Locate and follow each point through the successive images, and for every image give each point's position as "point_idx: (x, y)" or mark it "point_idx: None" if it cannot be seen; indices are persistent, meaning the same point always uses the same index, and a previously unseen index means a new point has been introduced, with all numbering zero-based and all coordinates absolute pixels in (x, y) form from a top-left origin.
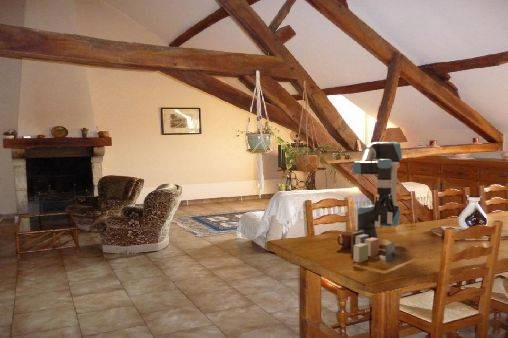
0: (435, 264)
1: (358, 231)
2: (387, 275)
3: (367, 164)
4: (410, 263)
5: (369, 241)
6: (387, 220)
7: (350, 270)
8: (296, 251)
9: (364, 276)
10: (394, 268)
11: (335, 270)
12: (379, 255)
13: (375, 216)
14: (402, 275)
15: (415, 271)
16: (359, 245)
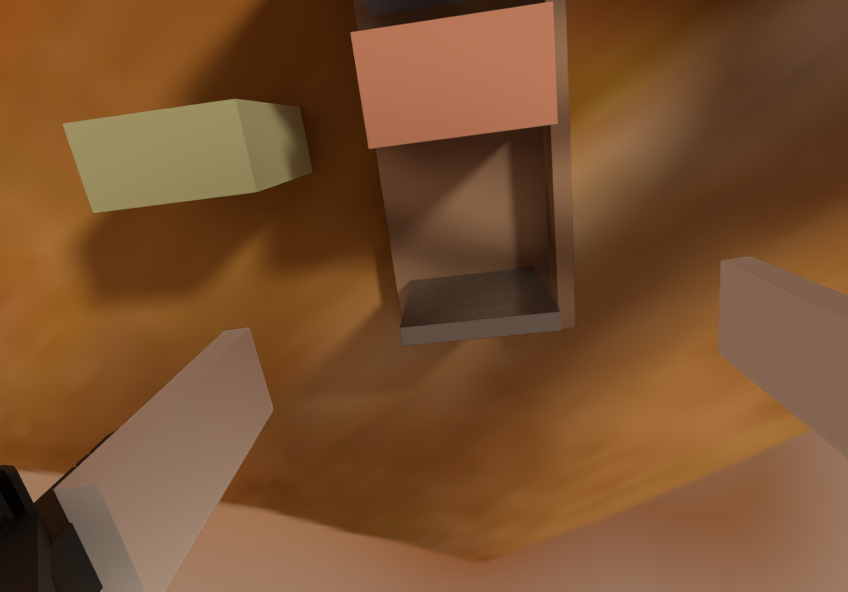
0: (646, 499)
1: None
2: None
3: None
4: (543, 394)
5: (364, 119)
6: (757, 285)
7: (50, 235)
8: None
9: (61, 374)
10: (353, 392)
11: None
12: (490, 158)
13: (40, 516)
14: (280, 493)
15: (409, 498)
16: (132, 166)
